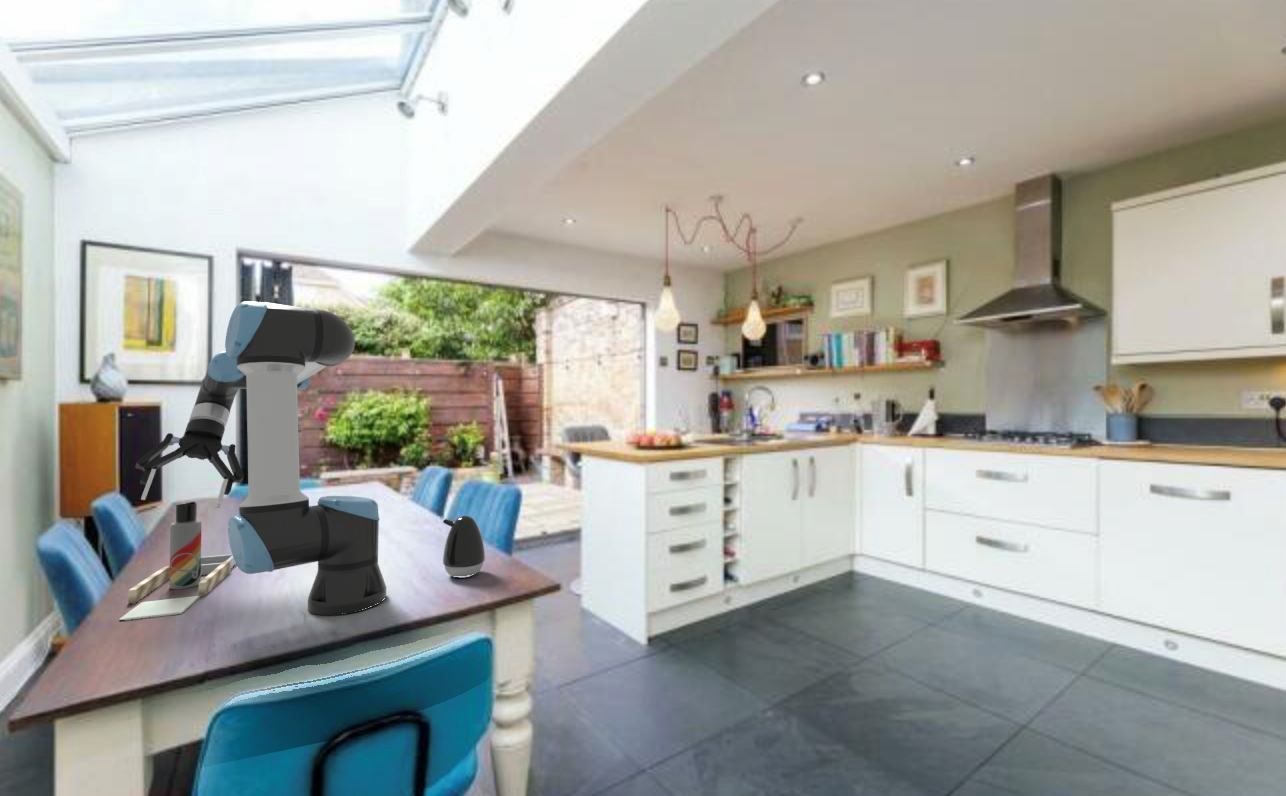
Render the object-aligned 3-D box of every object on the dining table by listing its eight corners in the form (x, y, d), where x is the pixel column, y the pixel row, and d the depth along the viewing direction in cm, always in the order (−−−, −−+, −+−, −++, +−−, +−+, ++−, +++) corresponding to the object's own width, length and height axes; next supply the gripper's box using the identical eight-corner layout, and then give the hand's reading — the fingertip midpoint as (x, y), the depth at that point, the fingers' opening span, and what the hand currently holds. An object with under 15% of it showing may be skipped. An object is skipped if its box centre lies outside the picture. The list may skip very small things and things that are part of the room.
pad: (181, 613, 111) (181, 611, 111) (118, 621, 107) (118, 619, 107) (199, 597, 120) (199, 595, 120) (142, 603, 116) (142, 602, 116)
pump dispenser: (448, 569, 141) (448, 511, 141) (488, 568, 142) (488, 511, 142) (436, 582, 131) (437, 520, 131) (480, 581, 132) (480, 519, 132)
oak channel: (205, 595, 121) (205, 582, 121) (128, 604, 116) (128, 590, 116) (230, 572, 138) (230, 560, 138) (163, 578, 133) (164, 566, 133)
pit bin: (226, 572, 138) (226, 562, 138) (167, 578, 133) (167, 568, 133) (237, 563, 146) (237, 553, 146) (182, 568, 141) (182, 558, 141)
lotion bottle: (186, 589, 125) (187, 504, 125) (162, 589, 125) (163, 503, 125) (206, 581, 131) (208, 499, 131) (183, 581, 131) (185, 499, 131)
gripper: (261, 442, 146) (242, 515, 134) (140, 420, 130) (107, 500, 118) (268, 429, 142) (250, 502, 130) (144, 404, 126) (111, 486, 114)
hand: (182, 501), depth 124 cm, fingers open, 13 cm apart
